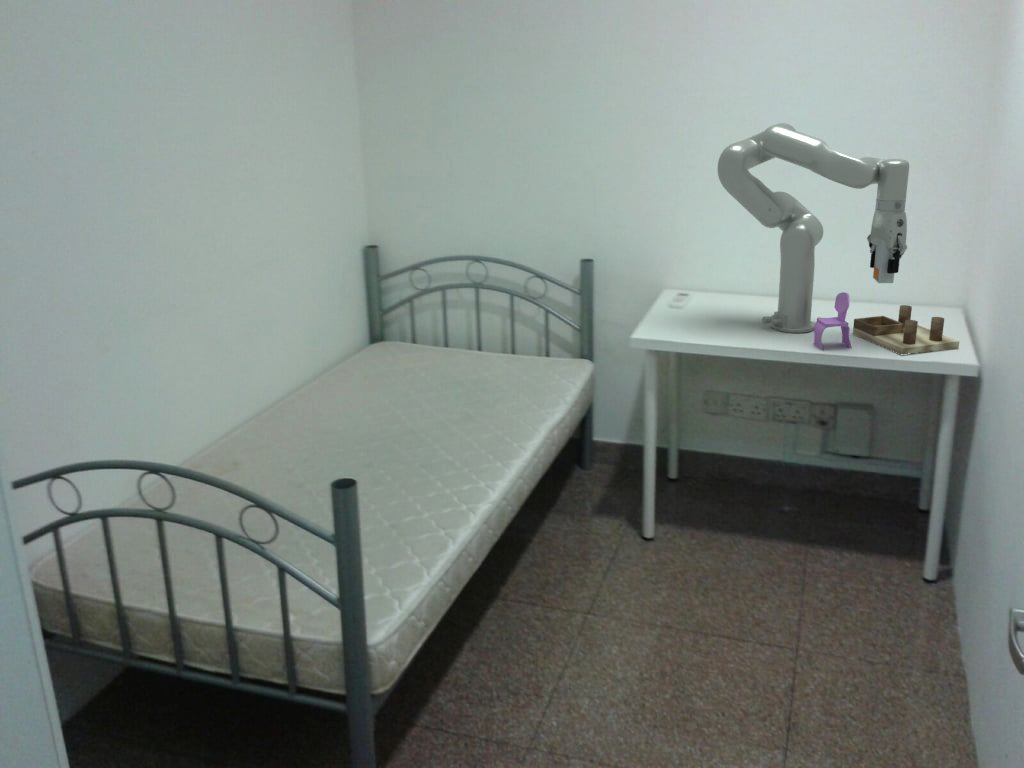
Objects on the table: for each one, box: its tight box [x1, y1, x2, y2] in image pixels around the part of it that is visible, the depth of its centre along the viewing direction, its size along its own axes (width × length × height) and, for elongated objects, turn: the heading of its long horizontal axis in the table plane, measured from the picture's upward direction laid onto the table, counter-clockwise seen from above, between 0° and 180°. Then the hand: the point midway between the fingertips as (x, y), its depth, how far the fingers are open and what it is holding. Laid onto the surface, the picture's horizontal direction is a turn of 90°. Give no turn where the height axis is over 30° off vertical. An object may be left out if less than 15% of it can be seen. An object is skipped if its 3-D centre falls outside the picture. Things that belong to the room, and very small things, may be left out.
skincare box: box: [872, 240, 897, 284], centre depth 270 cm, size 6×4×12 cm
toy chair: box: [813, 291, 853, 351], centre depth 268 cm, size 8×9×15 cm
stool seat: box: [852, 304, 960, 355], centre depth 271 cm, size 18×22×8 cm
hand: (883, 269), depth 271 cm, fingers closed on skincare box, 7 cm apart
